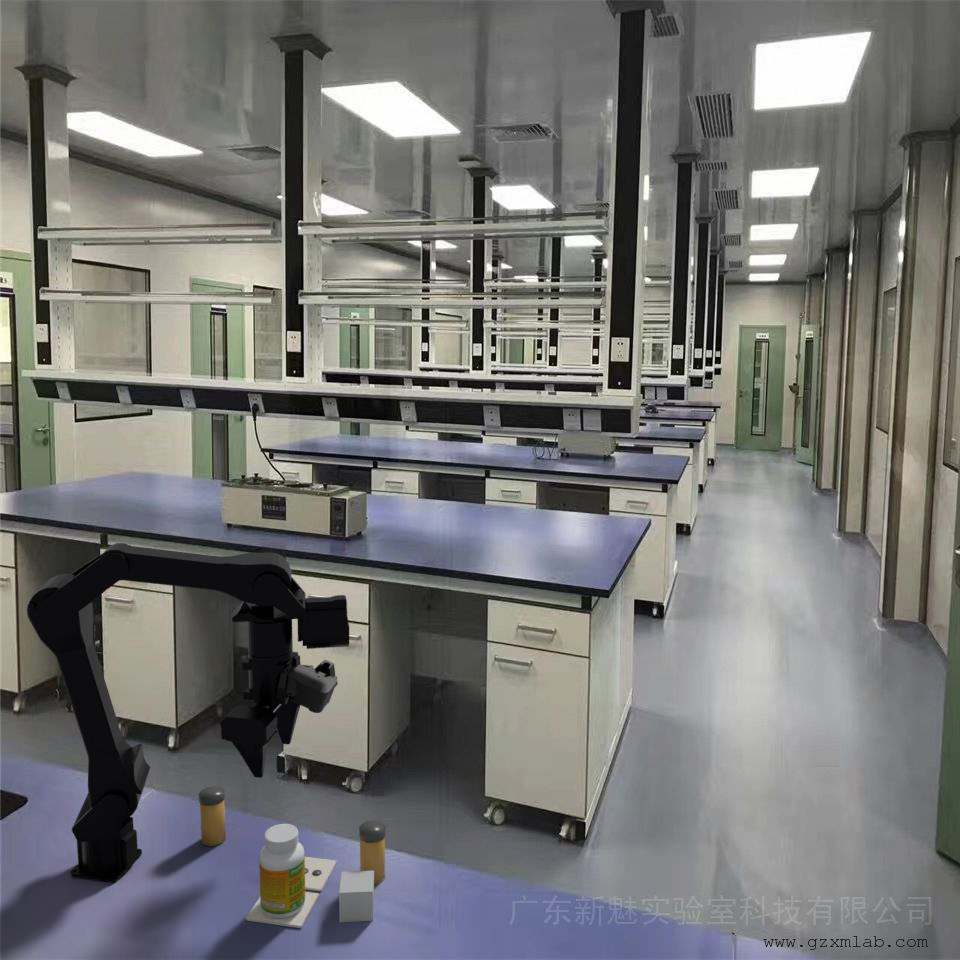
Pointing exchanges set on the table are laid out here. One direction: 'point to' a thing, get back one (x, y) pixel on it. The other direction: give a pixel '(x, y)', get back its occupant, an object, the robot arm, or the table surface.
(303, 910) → the pad two
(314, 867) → the pad three
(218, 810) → the amber vial
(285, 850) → the supplement bottle
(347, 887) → the grey block
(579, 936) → the table surface
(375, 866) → the amber vial
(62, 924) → the table surface
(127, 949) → the table surface
